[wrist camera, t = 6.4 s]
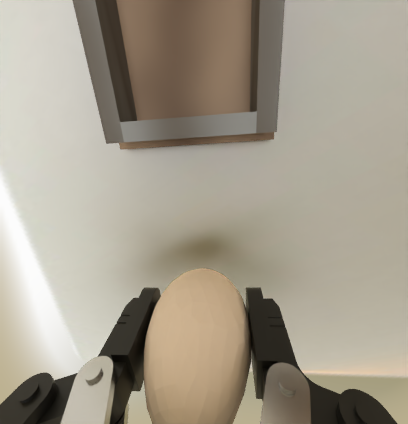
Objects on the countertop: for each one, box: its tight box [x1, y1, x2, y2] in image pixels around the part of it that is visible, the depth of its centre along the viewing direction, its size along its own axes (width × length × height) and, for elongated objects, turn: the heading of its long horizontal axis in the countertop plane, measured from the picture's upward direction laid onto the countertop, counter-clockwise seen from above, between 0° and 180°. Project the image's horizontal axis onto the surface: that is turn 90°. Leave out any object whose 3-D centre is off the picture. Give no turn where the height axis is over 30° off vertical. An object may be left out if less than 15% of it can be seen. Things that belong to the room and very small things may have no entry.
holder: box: [73, 0, 285, 149], centre depth 11 cm, size 10×10×4 cm
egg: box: [144, 268, 251, 424], centre depth 9 cm, size 5×5×7 cm
